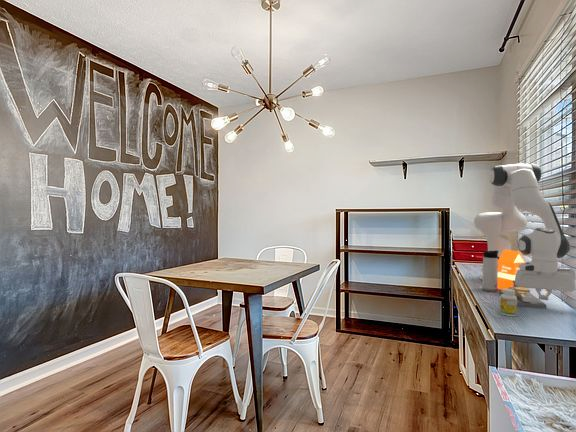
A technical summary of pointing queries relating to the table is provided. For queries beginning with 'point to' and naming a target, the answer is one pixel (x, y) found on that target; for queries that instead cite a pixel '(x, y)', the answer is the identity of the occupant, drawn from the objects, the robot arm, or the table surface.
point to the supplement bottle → (508, 303)
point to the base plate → (534, 302)
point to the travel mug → (490, 270)
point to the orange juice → (508, 268)
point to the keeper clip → (519, 289)
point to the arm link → (522, 294)
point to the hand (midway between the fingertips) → (543, 299)
